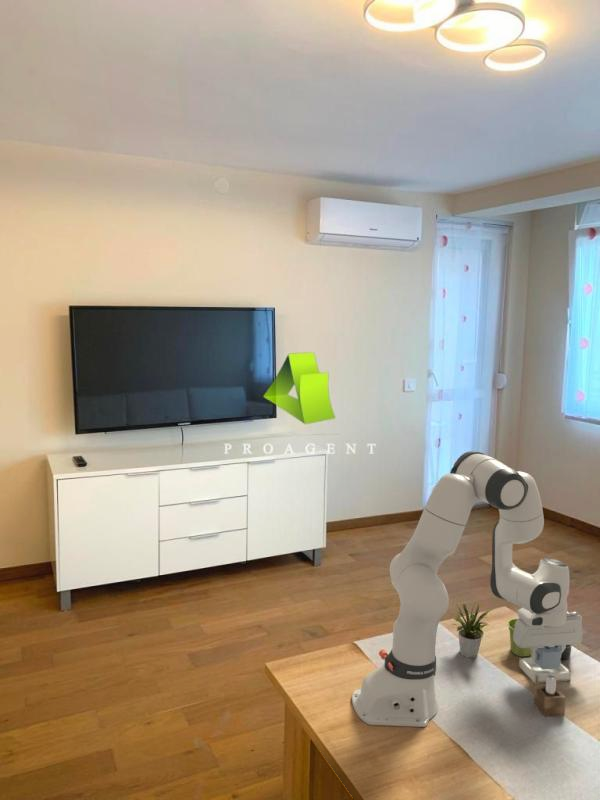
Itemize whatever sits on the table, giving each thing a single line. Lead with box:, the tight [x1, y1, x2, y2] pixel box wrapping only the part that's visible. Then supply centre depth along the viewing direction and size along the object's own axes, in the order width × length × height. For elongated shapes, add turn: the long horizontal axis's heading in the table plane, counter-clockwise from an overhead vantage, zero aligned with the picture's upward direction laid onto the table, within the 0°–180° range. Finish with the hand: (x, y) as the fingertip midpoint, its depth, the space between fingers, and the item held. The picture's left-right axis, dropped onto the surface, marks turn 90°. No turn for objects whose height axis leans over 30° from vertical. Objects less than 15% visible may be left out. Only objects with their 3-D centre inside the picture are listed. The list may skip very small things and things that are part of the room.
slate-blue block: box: [532, 646, 561, 670], centre depth 184 cm, size 6×6×5 cm
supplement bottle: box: [555, 644, 573, 662], centre depth 194 cm, size 7×7×12 cm
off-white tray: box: [518, 657, 572, 684], centre depth 185 cm, size 11×9×2 cm
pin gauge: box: [545, 675, 557, 697], centre depth 167 cm, size 2×2×9 cm
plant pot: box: [507, 618, 532, 658], centre depth 196 cm, size 9×9×9 cm
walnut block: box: [533, 685, 567, 718], centre depth 167 cm, size 6×6×5 cm
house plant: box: [449, 599, 494, 658], centre depth 194 cm, size 14×14×16 cm
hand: (546, 658), depth 184 cm, fingers closed on slate-blue block, 5 cm apart
